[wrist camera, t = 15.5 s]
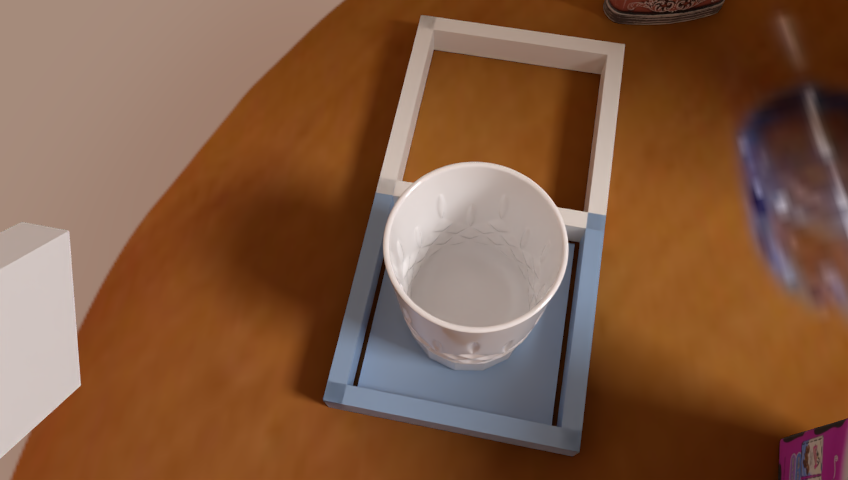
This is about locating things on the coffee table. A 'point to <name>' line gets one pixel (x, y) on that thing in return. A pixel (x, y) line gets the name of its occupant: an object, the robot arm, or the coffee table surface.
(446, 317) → the white cup
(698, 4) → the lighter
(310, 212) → the coffee table surface
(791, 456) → the candy bar box
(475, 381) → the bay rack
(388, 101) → the coffee table surface
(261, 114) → the coffee table surface
